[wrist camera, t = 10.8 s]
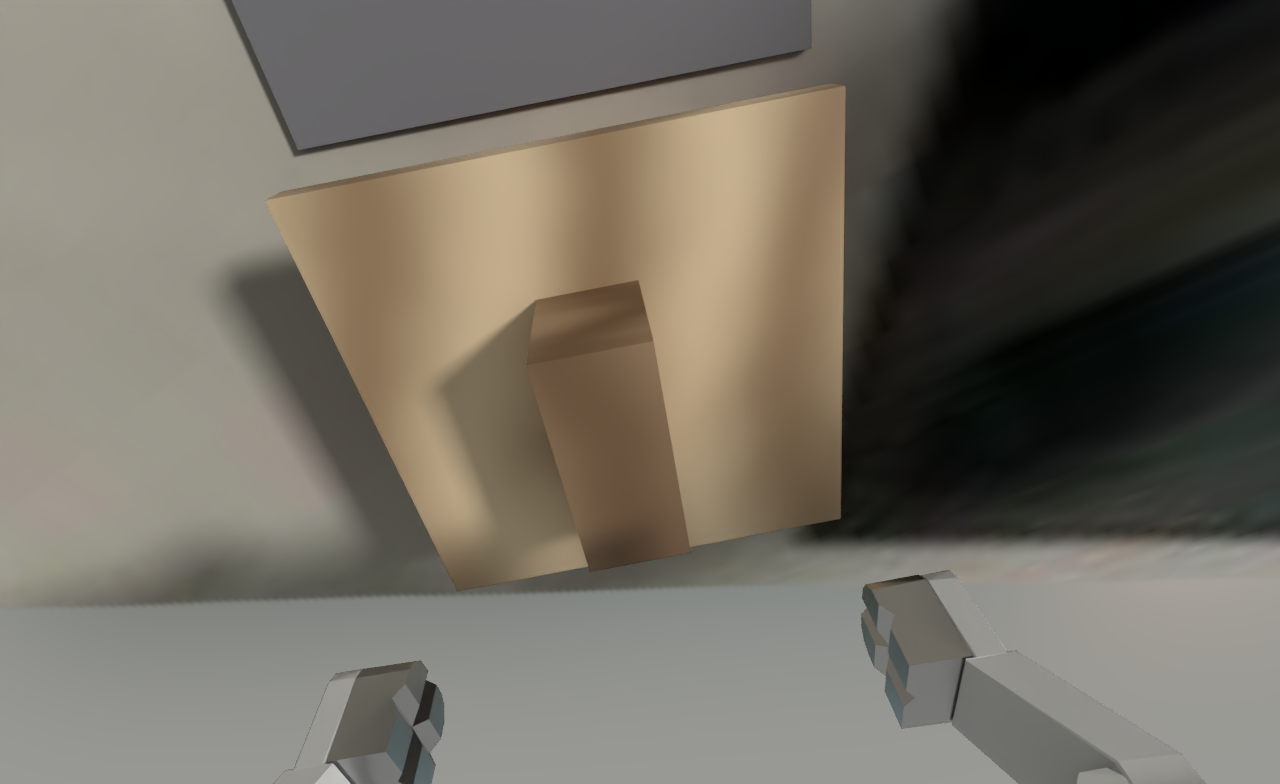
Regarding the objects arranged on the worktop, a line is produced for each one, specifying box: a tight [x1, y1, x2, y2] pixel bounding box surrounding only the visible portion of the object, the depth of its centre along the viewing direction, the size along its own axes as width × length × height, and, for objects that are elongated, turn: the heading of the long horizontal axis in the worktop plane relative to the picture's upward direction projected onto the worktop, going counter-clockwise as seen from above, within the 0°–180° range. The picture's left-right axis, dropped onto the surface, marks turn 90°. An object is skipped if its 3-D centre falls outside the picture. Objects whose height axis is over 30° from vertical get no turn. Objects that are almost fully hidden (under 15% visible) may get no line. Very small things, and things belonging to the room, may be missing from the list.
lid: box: [265, 83, 846, 591], centre depth 18 cm, size 15×15×5 cm
